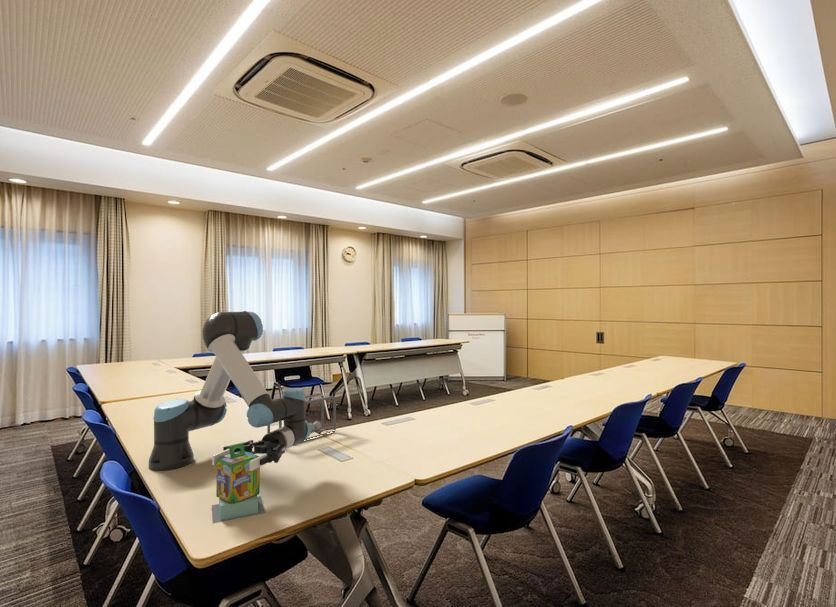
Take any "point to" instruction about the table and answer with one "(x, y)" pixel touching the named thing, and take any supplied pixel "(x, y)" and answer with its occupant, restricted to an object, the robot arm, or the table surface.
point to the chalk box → (237, 476)
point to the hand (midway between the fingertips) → (231, 463)
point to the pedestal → (238, 507)
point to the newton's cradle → (315, 425)
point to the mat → (217, 517)
